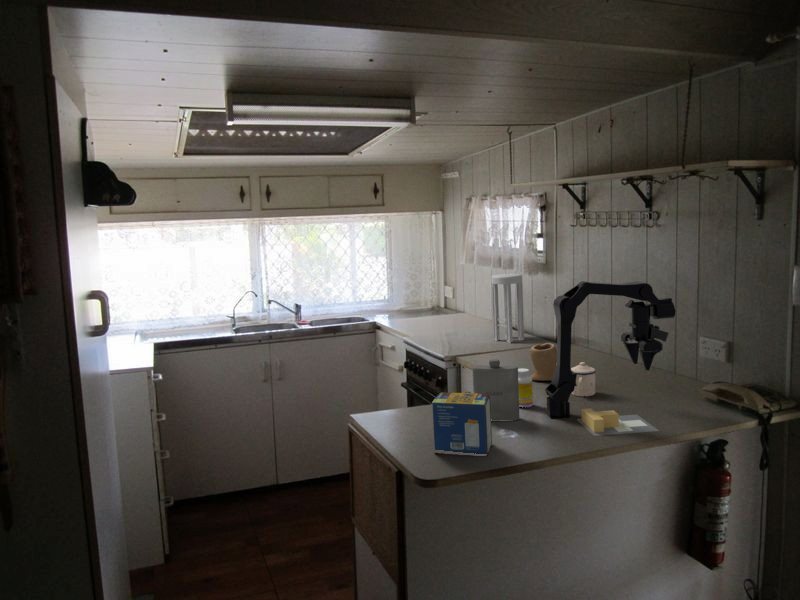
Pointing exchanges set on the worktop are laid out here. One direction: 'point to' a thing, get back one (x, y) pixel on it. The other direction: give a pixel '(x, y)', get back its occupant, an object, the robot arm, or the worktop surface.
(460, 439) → the protein box
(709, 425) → the worktop surface
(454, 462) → the worktop surface
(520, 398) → the supplement bottle
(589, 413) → the t block
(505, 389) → the flask
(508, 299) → the stool
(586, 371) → the teacup with lid
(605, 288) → the robot arm
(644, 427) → the mat
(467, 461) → the worktop surface
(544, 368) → the stone cup
